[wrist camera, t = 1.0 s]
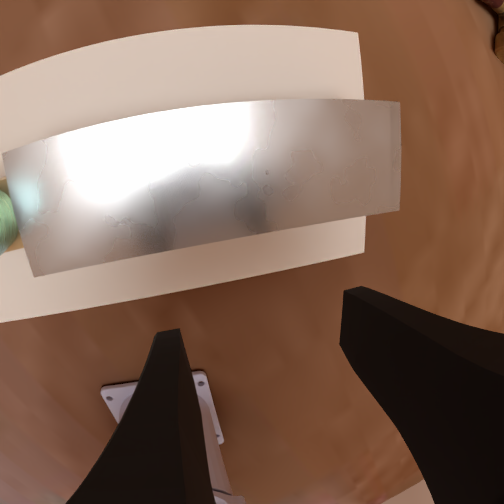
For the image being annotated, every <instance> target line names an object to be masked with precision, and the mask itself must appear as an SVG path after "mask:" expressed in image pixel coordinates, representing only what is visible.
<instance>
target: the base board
mask: <svg viewBox="0 0 504 504" xmlns="http://www.w3.org/2000/svg"><path fill="white" fill-rule="evenodd" d="M282 99H357V100H364V92H363V79H362V67H361V57H360V48H359V39H358V33H356V32H349V31H341V30H333V29H324V28H313V27H300V26H281V25H229V26H210V27H196V28H186V29H177V30H168V31H161V32H154V33H148V34H142V35H136V36H130V37H125V38H120V39H115V40H111V41H106V42H102V43H98V44H94V45H90V46H86V47H82V48H78V49H75V50H71V51H68V52H65V53H61V54H58V55H55V56H52V57H49V58H46V59H43V60H40V61H37V62H34V63H31V64H29V65H26V66H23V67H21V68H18V69H16V70H13V71H11V72H8V73H6V74H4V75H1V76H0V178H2V177H5V176H6V174H5V169H4V163H3V157H2V153H4V152H7V151H10V150H12V149H15V148H18V147H21V146H24V145H27V144H30V143H33V142H36V141H39V140H43V139H46V138H49V137H53V136H56V135H60V134H63V133H67V132H70V131H74V130H78V129H82V128H86V127H90V126H94V125H98V124H102V123H106V122H111V121H115V120H120V119H125V118H130V117H135V116H140V115H146V114H151V113H157V112H163V111H169V110H176V109H183V108H190V107H198V106H206V105H215V104H224V103H235V102H247V101H262V100H282ZM365 224H366V216H362V217H356V218H350V219H344V220H338V221H332V222H326V223H320V224H314V225H309V226H303V227H297V228H291V229H286V230H280V231H274V232H269V233H263V234H257V235H252V236H246V237H241V238H235V239H230V240H224V241H219V242H213V243H208V244H203V245H197V246H192V247H186V248H181V249H176V250H171V251H165V252H160V253H155V254H150V255H144V256H139V257H134V258H129V259H124V260H119V261H114V262H109V263H103V264H98V265H93V266H88V267H83V268H78V269H74V270H69V271H64V272H59V273H54V274H49V275H44V276H39V277H35V278H34V276H33V273H32V270H31V267H30V265H29V262H28V259H27V255H26V252H25V249H24V248H21V249H17V250H13V251H9V252H5V253H3V254H2V255H1V256H0V323H1V322H7V321H14V320H20V319H26V318H32V317H39V316H45V315H51V314H57V313H63V312H68V311H74V310H80V309H86V308H91V307H97V306H103V305H108V304H114V303H119V302H125V301H130V300H136V299H141V298H147V297H152V296H157V295H162V294H168V293H173V292H178V291H183V290H188V289H194V288H199V287H204V286H209V285H214V284H219V283H224V282H229V281H234V280H239V279H244V278H248V277H253V276H258V275H263V274H268V273H272V272H277V271H282V270H287V269H291V268H296V267H301V266H305V265H310V264H315V263H319V262H324V261H328V260H333V259H337V258H342V257H346V256H351V255H355V254H360V253H364V246H365Z"/></svg>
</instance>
